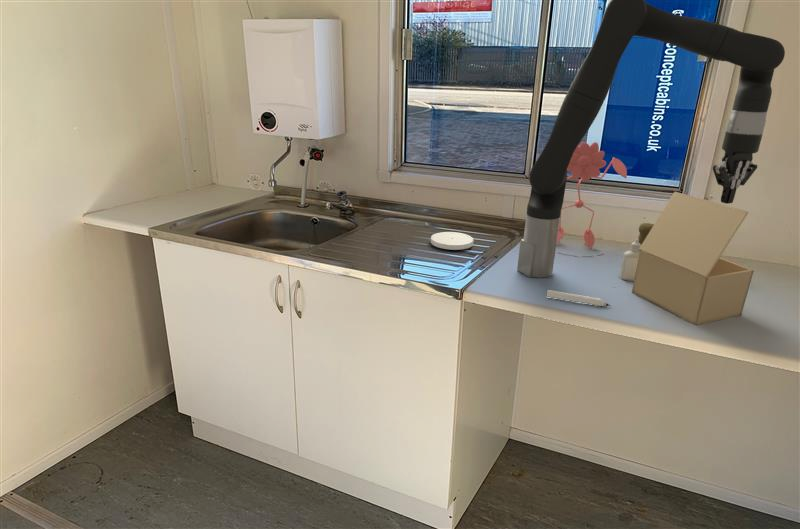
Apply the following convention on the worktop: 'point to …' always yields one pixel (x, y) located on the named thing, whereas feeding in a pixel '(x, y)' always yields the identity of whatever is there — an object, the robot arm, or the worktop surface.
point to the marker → (576, 298)
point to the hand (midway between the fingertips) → (726, 202)
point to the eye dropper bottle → (630, 262)
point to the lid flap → (693, 232)
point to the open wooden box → (693, 288)
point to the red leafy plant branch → (587, 166)
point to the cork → (644, 231)
